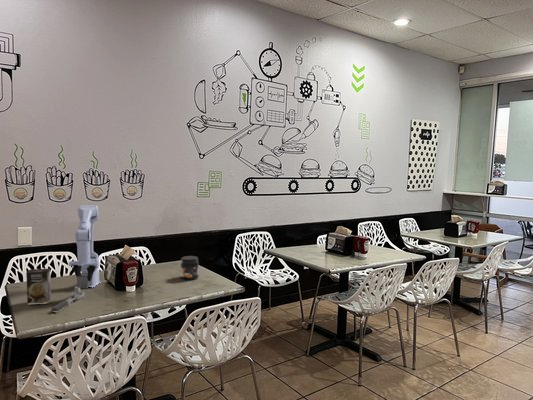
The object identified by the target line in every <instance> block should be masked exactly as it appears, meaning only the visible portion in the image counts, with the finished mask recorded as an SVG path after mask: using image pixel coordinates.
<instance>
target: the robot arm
mask: <svg viewBox="0 0 533 400" xmlns="http://www.w3.org/2000/svg"><path fill="white" fill-rule="evenodd" d="M77 214H78V219H79V222H78V228H77V230H75V243H76V246H77V248H76V249H77V253H76V254H77V260H74V261H73V260H71V261H69V262H68V266H69V267H71V270H72V271H73V272H74V274H75V277H76V278H77V275H79V274H81V273H88V280H89V281H91V280H92V285H91V286H89V287H92V288H91V289H94V288H96V287H97V286H99V285H100V284H101V282H102V281H100V271H99V267H100V259H99V258H100V257H99V255H98V253H96V252H95V251H94V224H95V222H97V221H98V219H99V206H98V205H97V204H89V205H87V204H86V205H85V204H84V205H83V204H82V205H81V204H80V205H79V204H78V207H77ZM99 283H100V284H99ZM98 284H99V285H98ZM96 285H97V286H96ZM95 286H96V287H95ZM93 287H94V288H93Z"/></svg>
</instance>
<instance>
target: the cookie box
mask: <svg viewBox="0 0 533 400" xmlns="http://www.w3.org/2000/svg"><path fill="white" fill-rule="evenodd" d="M25 274H26V275H25V276H26V295H27V296H26V297H27V298H26V299H27V303H44V302H49V300H50V299H51V300H52V291H51V268H35V269H33V268H31V269H29V270H27V271H26V272H25ZM49 303H50V302H49Z"/></svg>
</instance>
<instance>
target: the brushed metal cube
mask: <svg viewBox="0 0 533 400" xmlns="http://www.w3.org/2000/svg"><path fill="white" fill-rule="evenodd" d="M91 285H92V280H91V281H89V280H88V273H82V272H81V274H79V275H77V277H76V286H77V288H80V289H89V288H88V287H89V286H91Z"/></svg>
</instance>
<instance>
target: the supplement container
mask: <svg viewBox="0 0 533 400" xmlns="http://www.w3.org/2000/svg"><path fill="white" fill-rule="evenodd" d="M180 260H181V262H180V265H179V266H180V278H181V279H182V280H186V281H193V280H197V279H198V278H199V277H200V275H199V272H200V271H199V265H200V263H199V257H198V256H195V255H186V256H183V257H181V258H180Z"/></svg>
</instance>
